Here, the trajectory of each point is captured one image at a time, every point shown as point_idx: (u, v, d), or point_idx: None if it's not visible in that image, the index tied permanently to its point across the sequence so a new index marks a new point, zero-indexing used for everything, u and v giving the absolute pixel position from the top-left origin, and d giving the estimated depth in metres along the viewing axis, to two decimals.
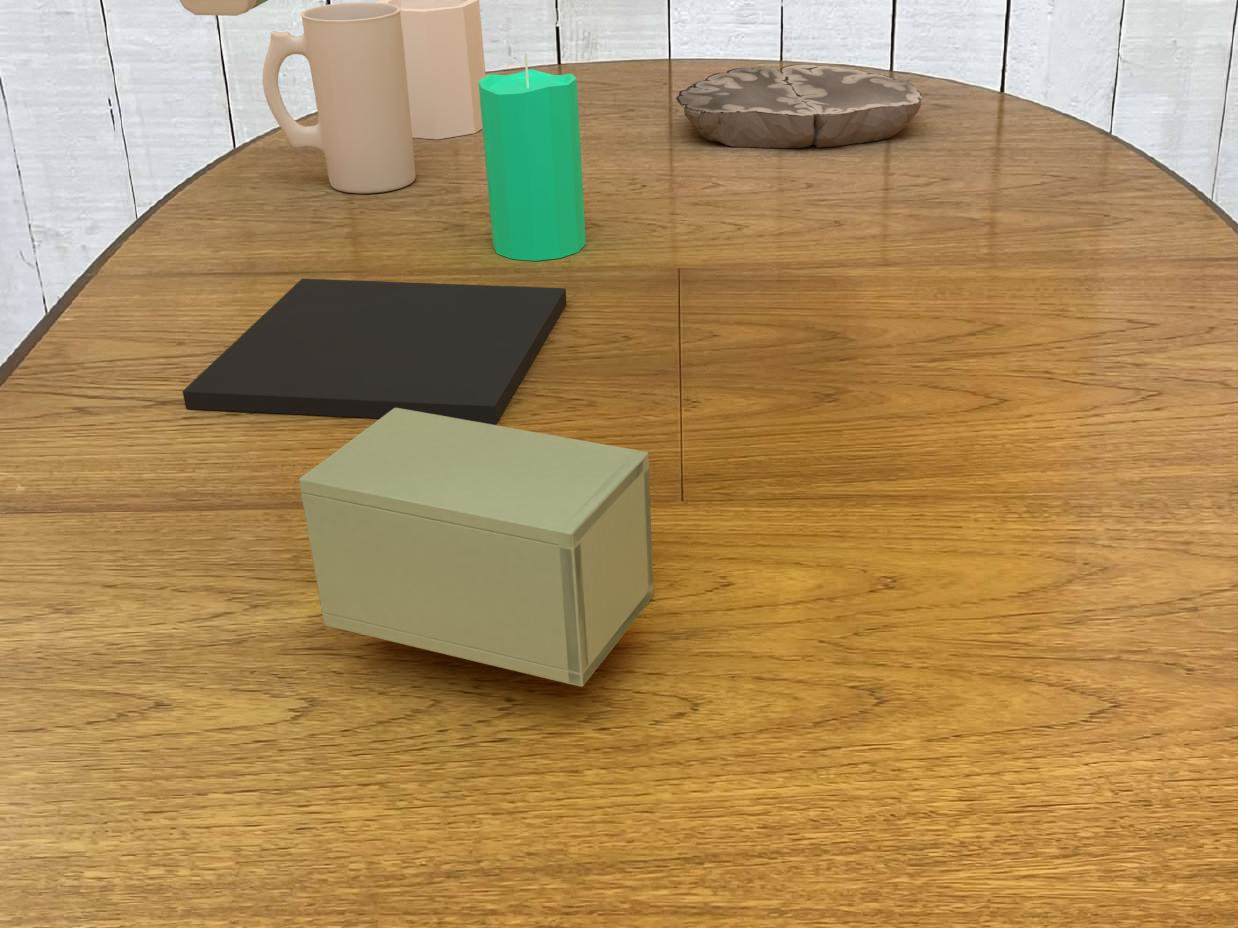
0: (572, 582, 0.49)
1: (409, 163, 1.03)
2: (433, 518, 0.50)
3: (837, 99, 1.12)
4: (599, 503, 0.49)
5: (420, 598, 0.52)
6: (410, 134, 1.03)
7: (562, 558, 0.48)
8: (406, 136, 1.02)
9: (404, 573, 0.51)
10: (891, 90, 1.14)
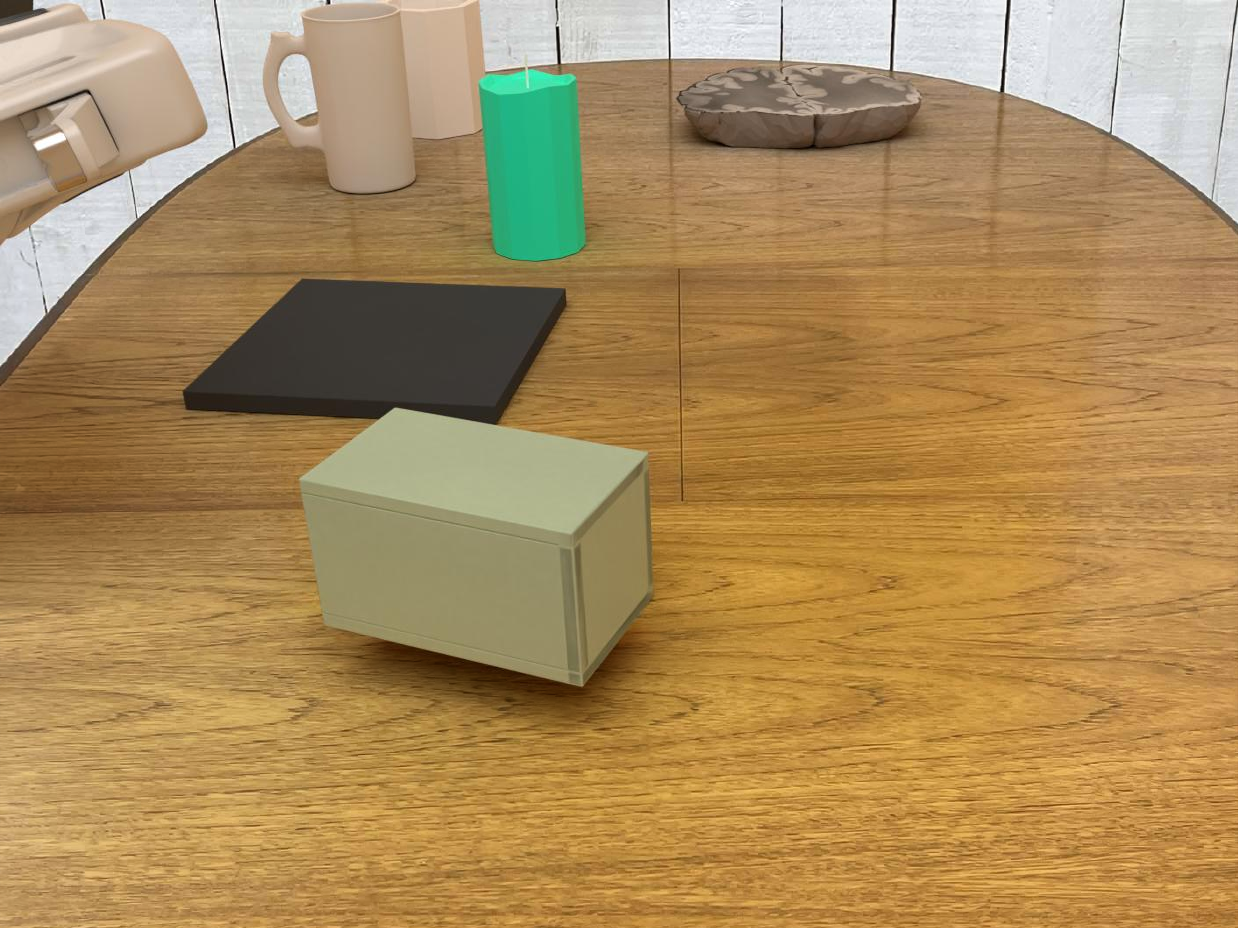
0: (572, 582, 0.49)
1: (409, 163, 1.03)
2: (433, 518, 0.50)
3: (837, 99, 1.12)
4: (599, 503, 0.49)
5: (420, 598, 0.52)
6: (410, 134, 1.03)
7: (562, 558, 0.48)
8: (406, 136, 1.02)
9: (404, 573, 0.51)
10: (891, 90, 1.14)
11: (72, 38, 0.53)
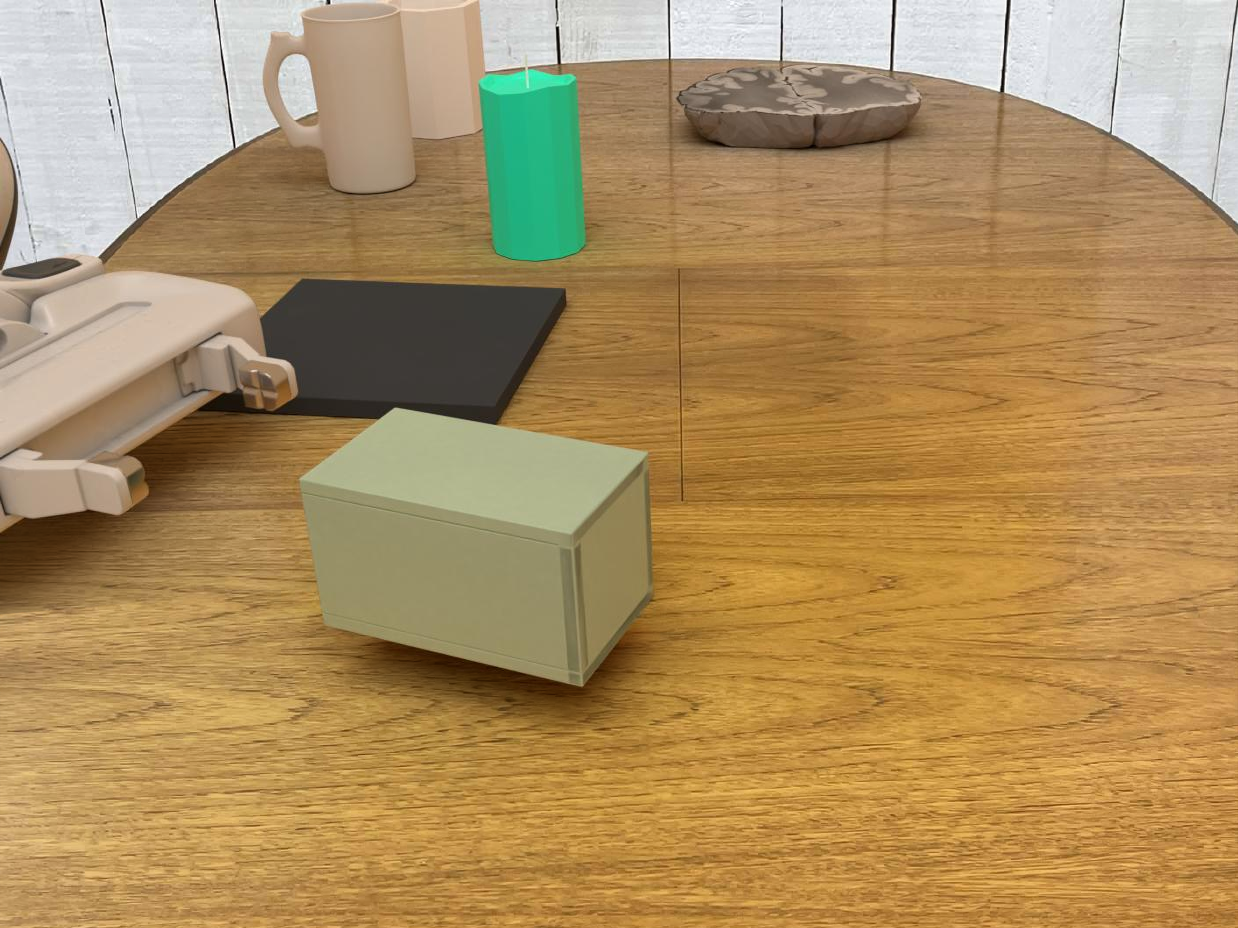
0: (572, 582, 0.49)
1: (409, 163, 1.03)
2: (433, 518, 0.50)
3: (837, 99, 1.12)
4: (599, 503, 0.49)
5: (420, 598, 0.52)
6: (410, 134, 1.03)
7: (562, 558, 0.48)
8: (406, 136, 1.02)
9: (404, 573, 0.51)
10: (891, 90, 1.14)
11: (123, 286, 0.65)
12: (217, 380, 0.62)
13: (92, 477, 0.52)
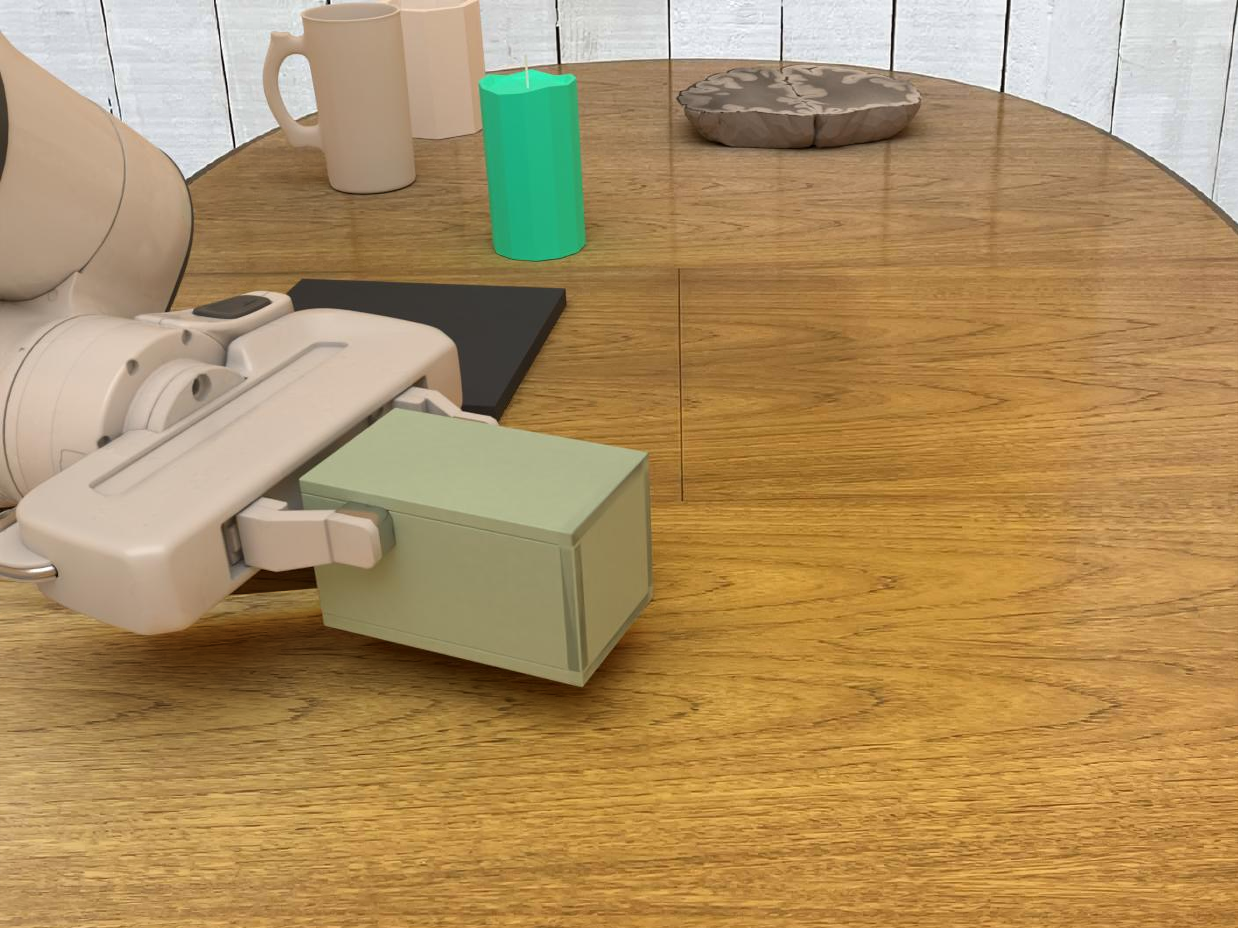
0: (572, 582, 0.49)
1: (409, 163, 1.03)
2: (433, 518, 0.50)
3: (837, 99, 1.12)
4: (599, 503, 0.49)
5: (420, 598, 0.52)
6: (410, 134, 1.03)
7: (562, 558, 0.48)
8: (406, 136, 1.02)
9: (404, 573, 0.51)
10: (891, 90, 1.14)
11: (316, 325, 0.62)
12: None
13: (343, 529, 0.50)
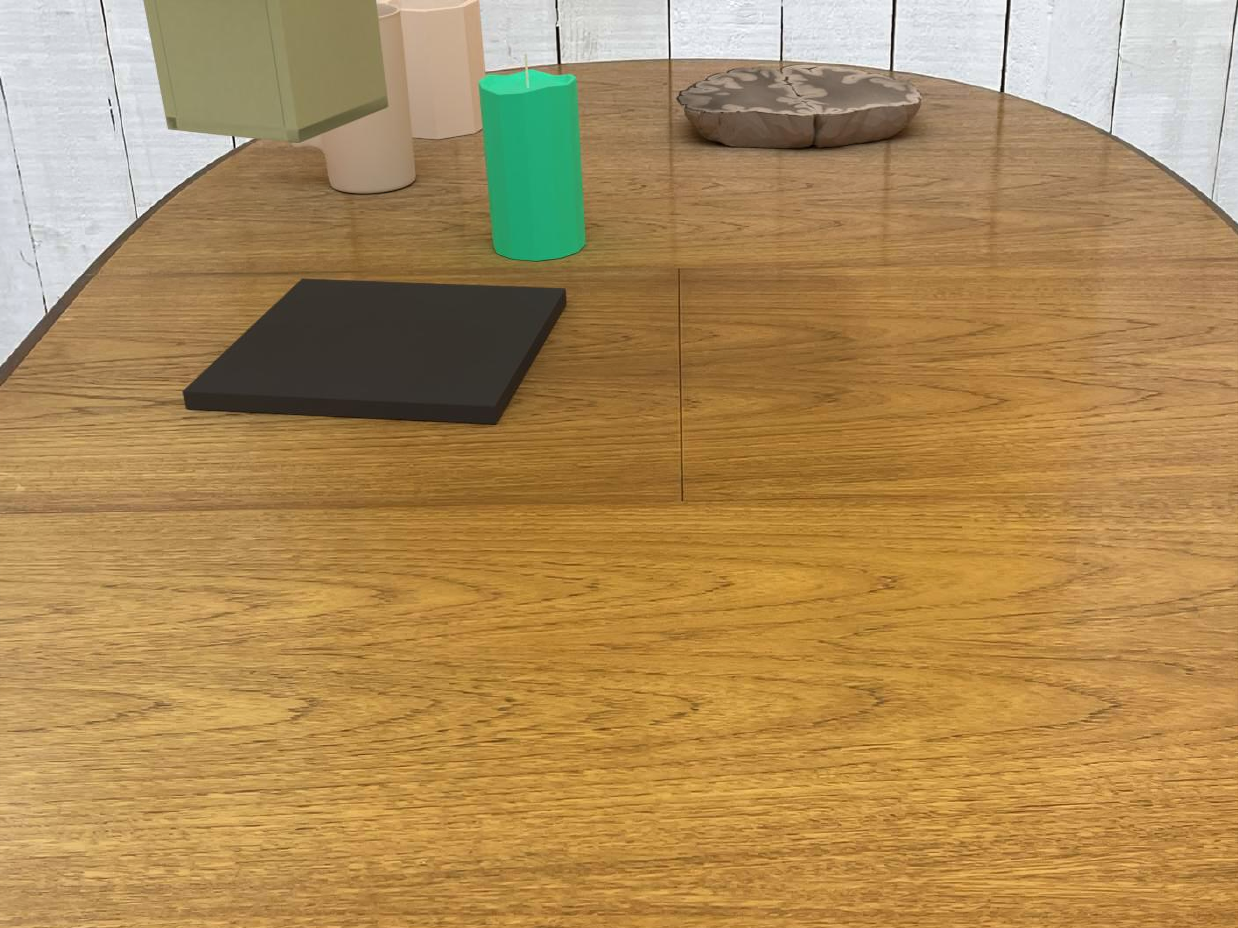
0: (257, 135, 0.56)
1: (409, 163, 1.03)
2: None
3: (837, 99, 1.12)
4: (331, 129, 0.57)
5: None
6: (410, 134, 1.03)
7: (274, 130, 0.56)
8: (406, 136, 1.02)
9: None
10: (891, 90, 1.14)
11: None
12: None
13: None
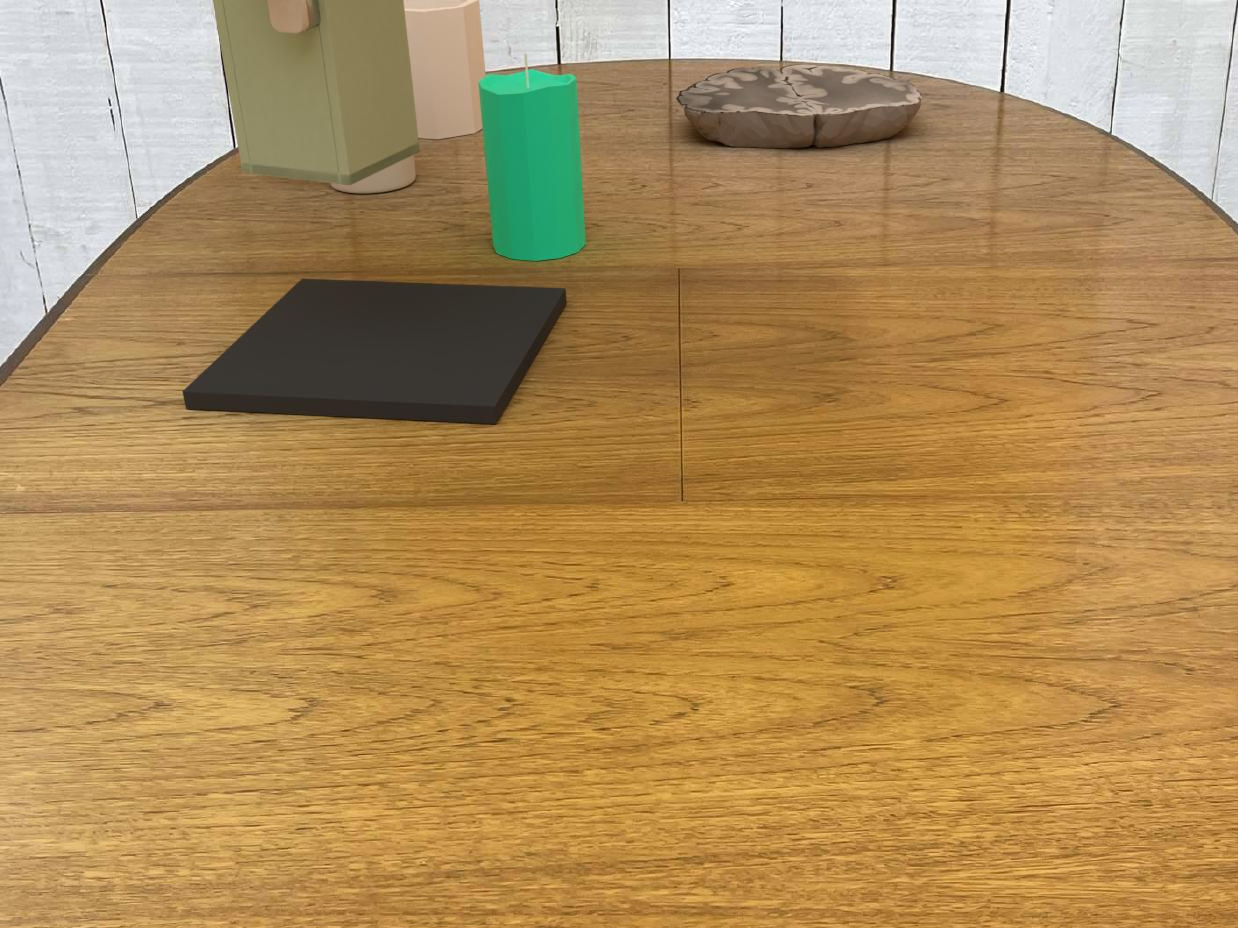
0: (316, 179, 0.70)
1: (409, 163, 1.03)
2: (325, 70, 0.67)
3: (837, 99, 1.12)
4: (375, 172, 0.71)
5: (259, 43, 0.67)
6: None
7: (330, 174, 0.69)
8: None
9: (274, 32, 0.67)
10: (891, 90, 1.14)
11: None
12: None
13: (295, 8, 0.64)
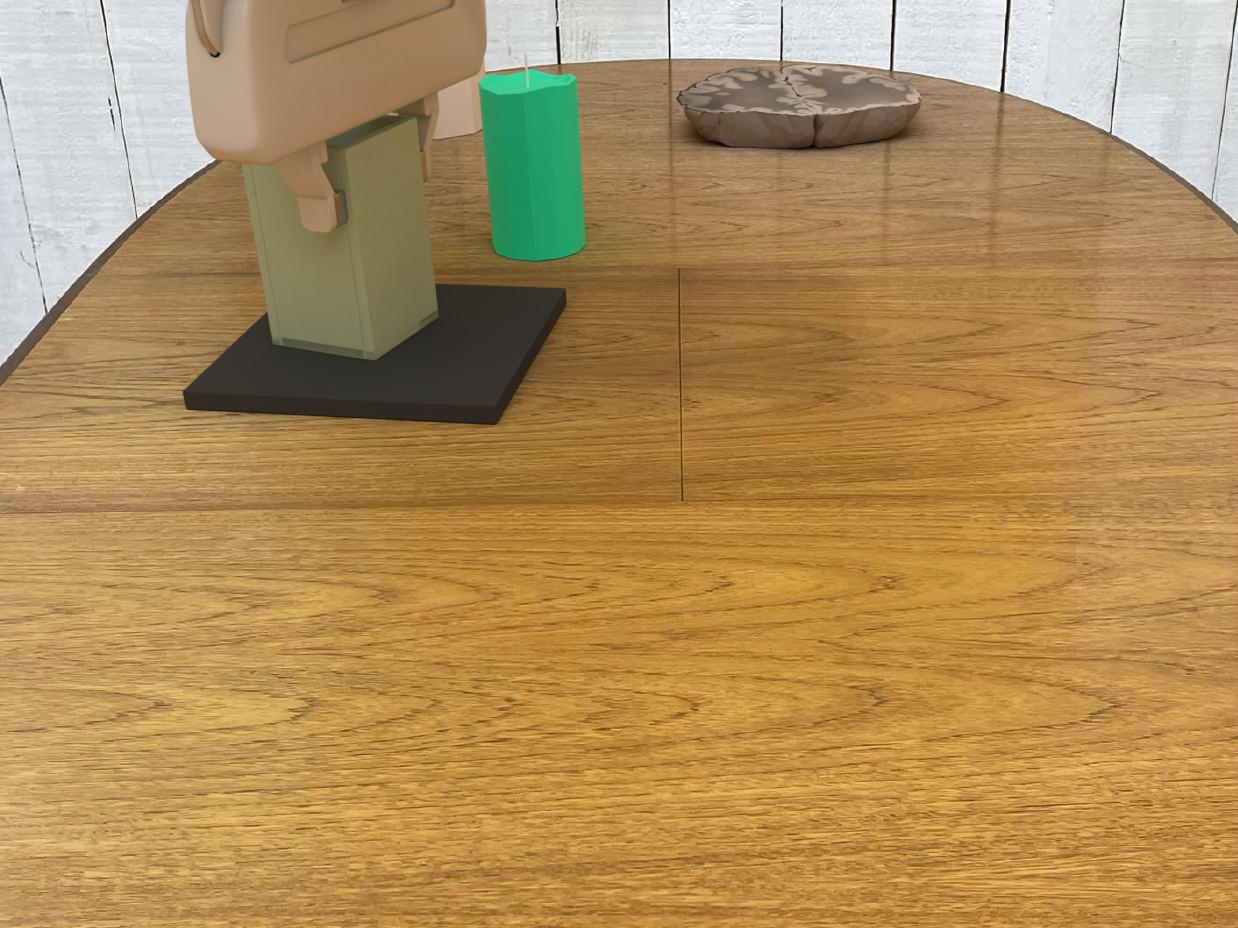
0: (342, 353, 0.74)
1: None
2: (352, 259, 0.71)
3: (837, 99, 1.12)
4: (398, 344, 0.75)
5: (290, 233, 0.72)
6: None
7: (356, 350, 0.74)
8: None
9: None
10: (891, 90, 1.14)
11: None
12: None
13: (324, 211, 0.69)
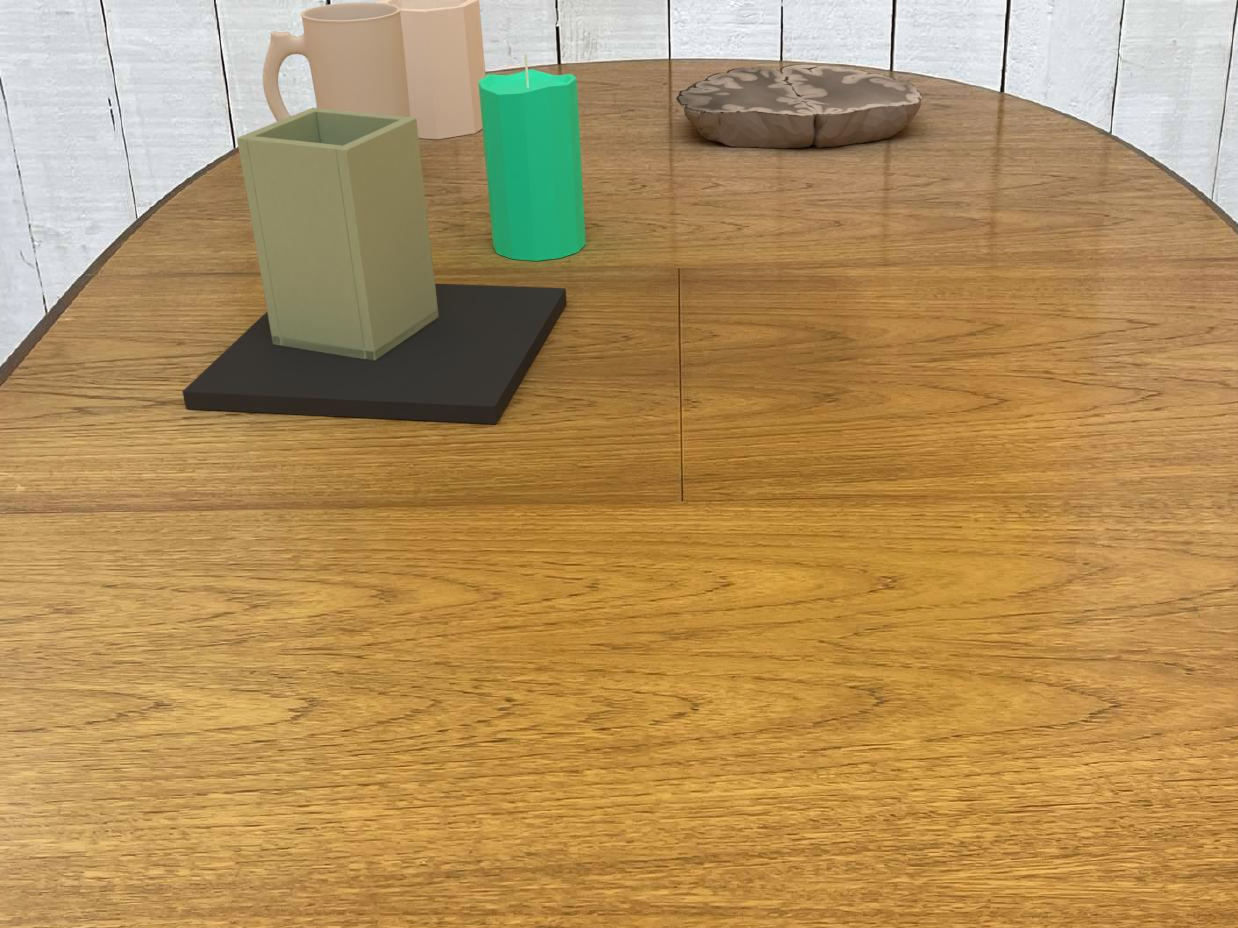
0: (342, 353, 0.74)
1: None
2: (352, 259, 0.71)
3: (837, 99, 1.12)
4: (398, 344, 0.75)
5: (290, 233, 0.72)
6: None
7: (356, 350, 0.74)
8: None
9: (304, 224, 0.71)
10: (891, 90, 1.14)
11: None
12: None
13: None
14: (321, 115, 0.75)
